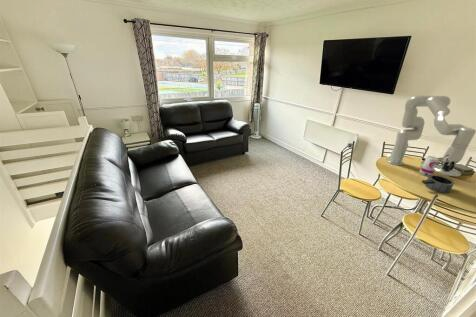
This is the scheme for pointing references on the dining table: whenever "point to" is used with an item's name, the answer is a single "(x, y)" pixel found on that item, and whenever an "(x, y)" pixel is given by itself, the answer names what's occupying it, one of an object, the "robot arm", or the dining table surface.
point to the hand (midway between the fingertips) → (446, 169)
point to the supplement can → (428, 165)
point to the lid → (449, 172)
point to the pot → (438, 183)
